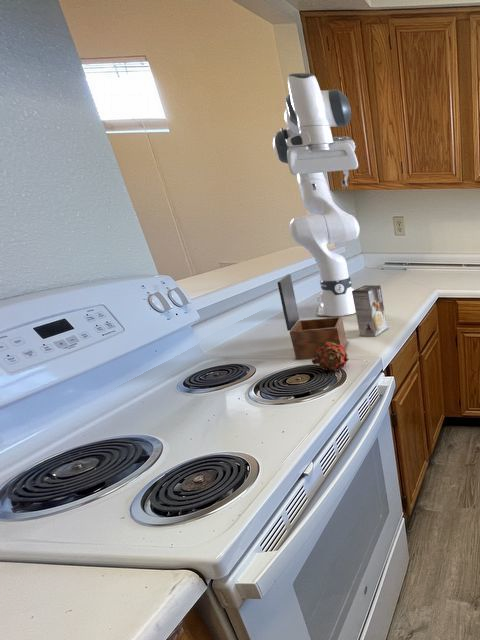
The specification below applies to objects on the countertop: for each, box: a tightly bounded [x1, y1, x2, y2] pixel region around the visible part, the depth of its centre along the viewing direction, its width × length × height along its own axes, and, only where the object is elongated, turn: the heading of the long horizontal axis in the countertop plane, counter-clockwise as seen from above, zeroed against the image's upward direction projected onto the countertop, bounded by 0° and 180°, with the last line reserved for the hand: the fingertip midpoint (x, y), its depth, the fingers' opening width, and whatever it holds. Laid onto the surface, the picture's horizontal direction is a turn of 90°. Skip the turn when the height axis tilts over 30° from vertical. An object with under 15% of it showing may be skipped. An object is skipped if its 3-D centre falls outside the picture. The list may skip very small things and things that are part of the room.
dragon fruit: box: [311, 342, 350, 372], centre depth 118 cm, size 8×8×12 cm
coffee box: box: [352, 284, 388, 337], centre depth 147 cm, size 9×6×16 cm
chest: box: [289, 316, 348, 360], centre depth 133 cm, size 14×13×9 cm
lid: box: [277, 273, 300, 332], centre depth 126 cm, size 14×13×1 cm
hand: (329, 188), depth 131 cm, fingers open, 8 cm apart
